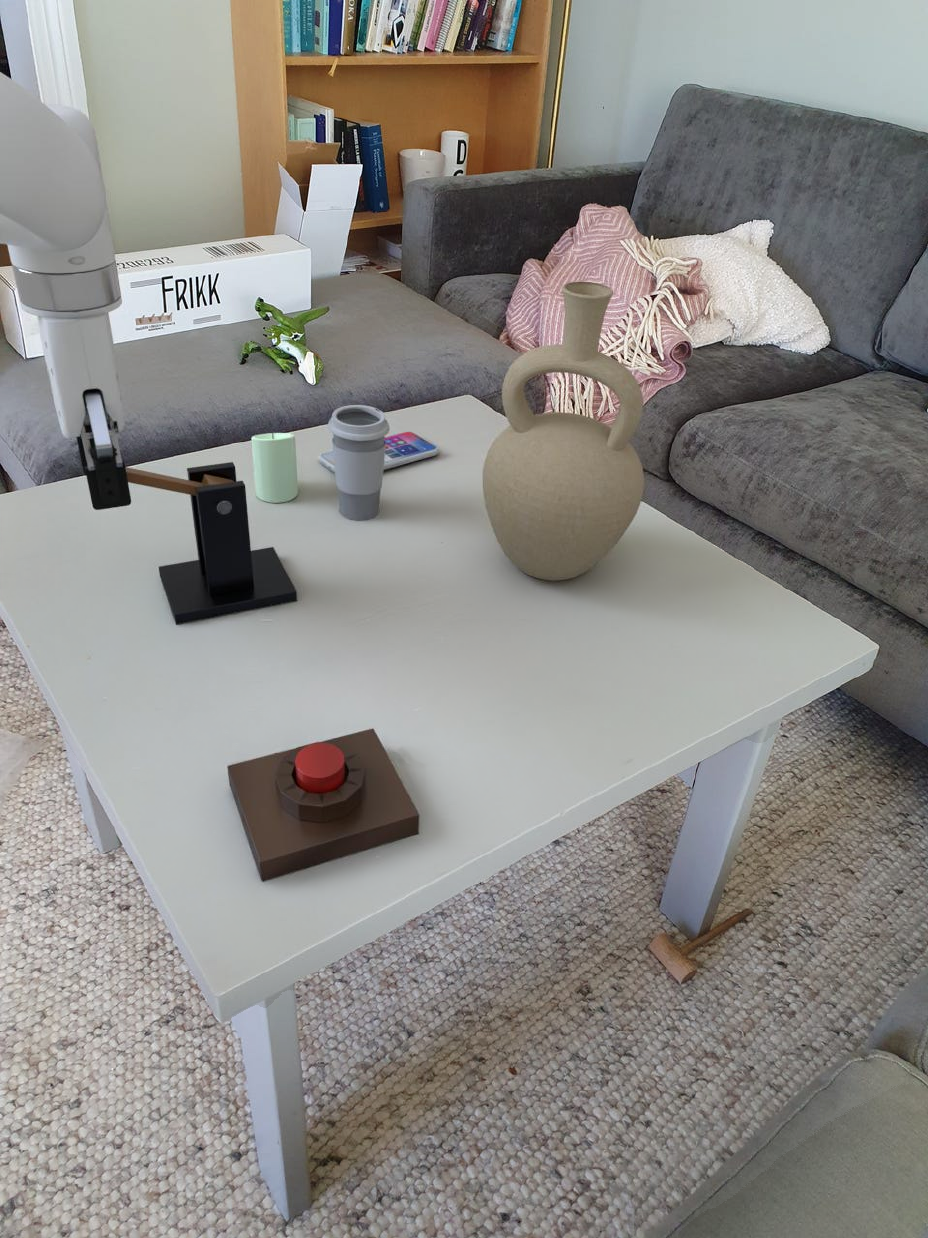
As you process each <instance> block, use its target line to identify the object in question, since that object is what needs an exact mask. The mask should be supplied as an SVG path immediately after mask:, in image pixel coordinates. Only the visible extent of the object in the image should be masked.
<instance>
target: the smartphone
mask: <svg viewBox="0 0 928 1238" xmlns="http://www.w3.org/2000/svg"><path fill="white" fill-rule="evenodd" d="M385 442H386V444H385V456H384V468H383V471H385V470H389V469H391V468H392V469H393V468H396V467H400V466H403V465H406V464H410V463H414V462H417V461H420V460H424V459H427V458H431V457H434V456H437V455H438V454H439V453H440V448H439V447H438V446H437V445H435V444H434V443H432V442H430V441H429V440H427V439H425V438H424V437H422V436H421V435H419V434H417V433H416V432H414V431H404V432H400V433H395V434H391V435H388V436H385ZM318 462H319V463H320V464H322V465H323V466H324V467H326V468H327V469H328V470H330V471H331V472H333V473H334V474H335V466H334V455H333V450H330V451H328V452H323V453H321V454H320V455H318Z"/></svg>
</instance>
